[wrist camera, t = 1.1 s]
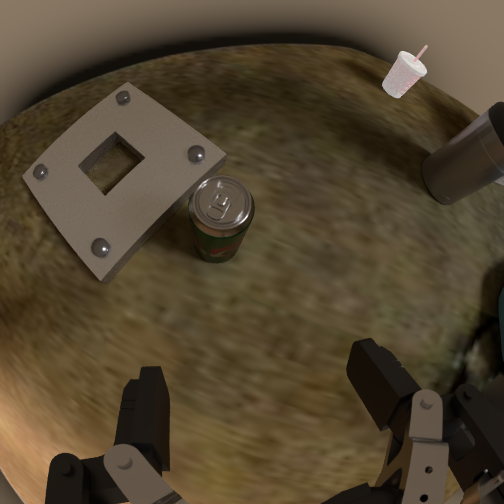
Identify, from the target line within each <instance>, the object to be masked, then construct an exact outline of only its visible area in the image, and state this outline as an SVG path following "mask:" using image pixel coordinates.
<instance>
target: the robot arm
mask: <svg viewBox="0 0 504 504" xmlns="http://www.w3.org/2000/svg"><path fill="white" fill-rule="evenodd" d="M422 175H423V178H424V182H425V184H426V186H427V188H428V189H429V191H430V193H431V194H432V195H433V197H434V198H435V199H436V200H438V201H439V202H440V203H442V204H444V205H451V204H453V203H455V202H457V201H459V200H461V199H463V198H464V197H467V196H468V195H470V194H472V193H474V192H476V191H478V190H480V189H482V188H483V187H485V186H487V185H489V184H491V183H493V182H494V181H496V180H498V179H500V178H502V177H503V176H504V102H498V103H496V104H495V105H493V106H492V107H491V108H490V109H489V110H487V111H486V112H485V113H483V114H482V115H481V116H480V117H478V118H477V119H476V120H475V121H474V122H472V123H471V124H470V125H469V126H467V127H466V128H465V129H464V130H462V131H461V132H460V133H459V134H457V135H456V136H455V137H453V138H452V139H451V140H450V141H448V142H447V143H446V144H444V145H443V146H442V147H441V148H439V149H438V150H436V151H435V152H434V153H433V154H431V155H430V156H429V157H427V158H426V159H425V160H424V161H423V163H422ZM346 371H347V376H348V378H349V380H350V382H351V384H352V385H353V387H354V388H355V390H356V392H357V393H358V395H359V397H360V398H361V400H362V402H363V403H364V405H365V407H366V408H367V410H368V412H369V413H370V415H371V417H372V418H373V420H374V421H375V423H376V425H377V426H378V428H379V430H380V432H381V431H384V430H386V429H388V428H390V429H391V431H392V432H391V434H390V437H389V442H388V447H387V451H386V456H385V460H384V464H383V468H382V471H381V473H380V475H379V477H378V479H377V481H376V483H375V486H374V487H369V485H368V483H364V484H362V485H359V486H356V487H354V488H351V489H348V490H345V491H343V492H340V493H339V494H337V495H335V496H334V497H332V498H330V499H328V500H327V501H325V502H323V503H321V504H443V500H444V493H445V486H446V478H447V467H448V465H449V467H450V469H451V471H452V472H453V474H454V476H455V478H456V479H457V481H458V483H459V485H460V487H461V488H462V490H463V492H464V496H463V499H462V501H461V503H460V504H504V422H503V420H502V419H501V418H500V416H499V415H498V414H497V412H496V411H495V410H494V409H493V407H492V406H491V405H490V403H489V402H488V401H487V400H486V399H485V397H484V396H483V395H482V394H481V392H480V391H479V390H478V389H477V388H476V387H475V386H473V385H471V384H462V385H460V386H459V387H458V388H457V390H456V391H455V393H454V394H448V395H441V396H439V395H438V394H437V393H436V392H434V391H431V390H426V389H425V390H422V389H421V388H420V387H419V385H418V384H417V383H416V382H415V380H414V379H413V378H412V377H411V376H410V374H409V373H408V372H407V371H406V369H405V368H404V367H402V365H401V363H400V362H399V361H397V358H396V357H395V356H394V355H393V354H392V352H390V351H389V350H387V349H385V348H384V347H382V346H381V347H379V346H378V345H377V344H376V343H375V341H374V340H373V339H372V338H367V339H363V340H359V341H355V342H354V343H353V345H352V348H351V352H350V356H349V360H348V363H347V368H346ZM463 424H465V426H466V427H467V428H468V430H469V431H470V433H471V434H472V436H473V437H474V438H475V446H473V445H472V443H471V442H470V440H469V439H468V437H467V436H466V434H465V433H464V431H463V430H462V428H461V426H462V425H463ZM169 431H170V398H169V392H168V388H167V385H166V382H165V379H164V376H163V372H162V369H161V367H160V366H150V367H141V371H140V377H139V379H130V381H129V382H128V384H127V385H126V386H125V388H124V390H123V395H122V402H121V406H120V412H119V417H118V424H117V430H116V437H115V442H114V445H113V447H111V448H110V449H109V450H108V451H107V452H106V453H105V454H104V455H102V456H99V457H94V458H88V459H82V460H79V458H77V457H76V456H75V455H73V454H70V453H61V454H58V455H57V456H55V457H54V458H53V459H52V461H51V463H50V467H49V473H48V480H47V488H46V498H45V504H119V503H125V502H130V503H131V504H188V503H187V502H186V501H185V500H184V499H183V498H182V497H181V496H180V495H179V494H177V493H176V492H175V491H174V490H173V489H172V488H171V487H170V486H169V485H168V484H167V483H166V482H165V481H164V480H163V478H162V471H170V448H169Z"/></svg>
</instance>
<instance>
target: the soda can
mask: <svg viewBox="0 0 504 504" xmlns="http://www.w3.org/2000/svg"><path fill="white" fill-rule="evenodd" d="M254 210H255V206H254V200H253V197H252V195H251V193H250V192H249V190H248V188H247V187H246V186H245V185H244V184H243V183H242V182H241V181H240V180H238V179H236V178H234V177H232V176H228V175H216V176H212V177H209V178H207V179H205V180H204V181H203V182H201V183H200V184H199V185H198V186H197V187H196V188H195V189H194V191H193V192H192V194H191V196H190V199H189V203H188V213H189V218H190V224H191V230H192V235H193V241H194V246H195V249H196V251H197V253H198V254H199V256H200V257H201V258H203V259H204V260H206V261H208V262H211V263H223V262H226V261H228V260H230V259H231V258H232V257H233V256H234V255H235V254H236V252H237V251H238V248H239V246H240V244H241V242H242V240H243V238H244V236H245V234H246V232H247V230H248V228H249V226H250V224H251V221H252V219H253V216H254Z"/></svg>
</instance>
